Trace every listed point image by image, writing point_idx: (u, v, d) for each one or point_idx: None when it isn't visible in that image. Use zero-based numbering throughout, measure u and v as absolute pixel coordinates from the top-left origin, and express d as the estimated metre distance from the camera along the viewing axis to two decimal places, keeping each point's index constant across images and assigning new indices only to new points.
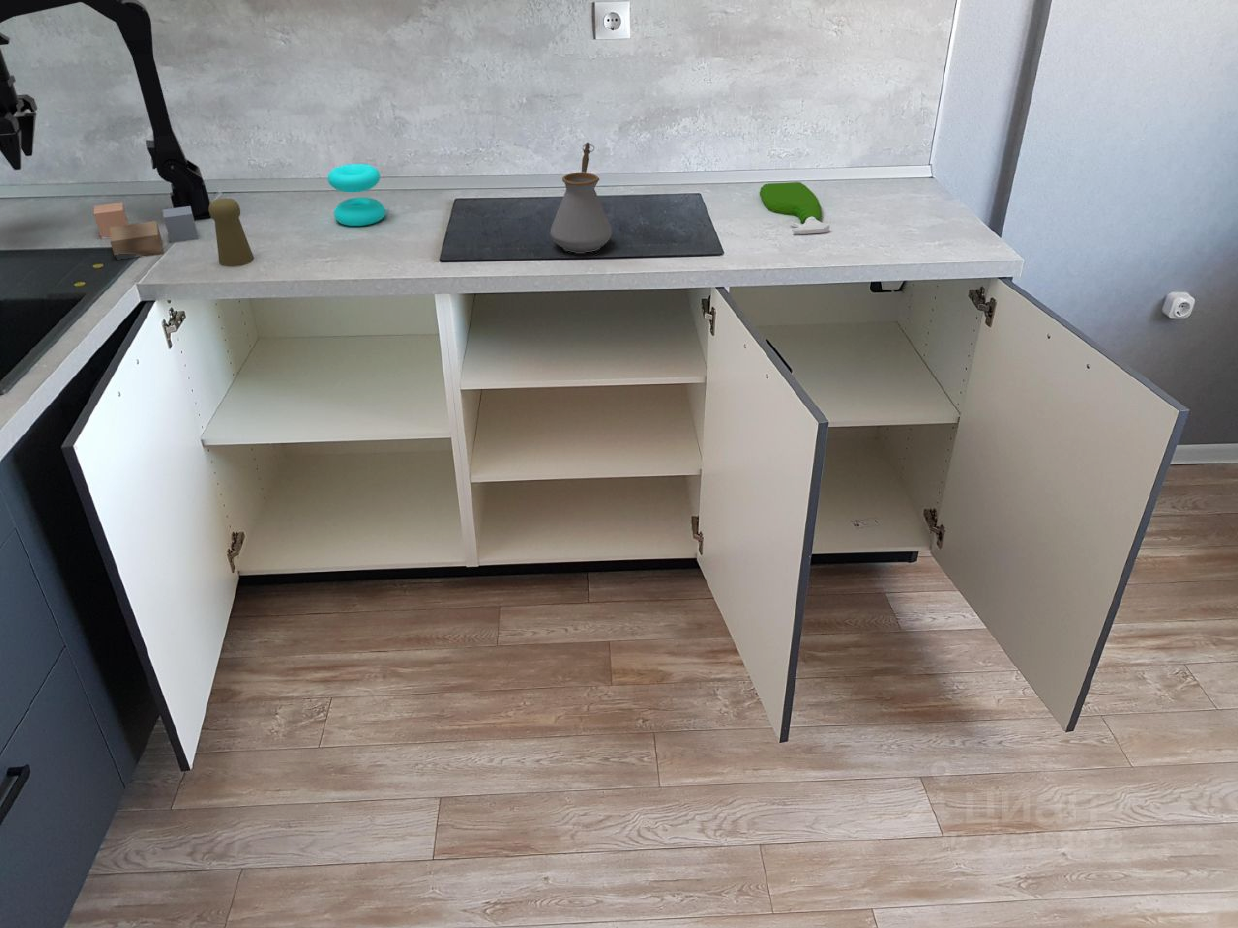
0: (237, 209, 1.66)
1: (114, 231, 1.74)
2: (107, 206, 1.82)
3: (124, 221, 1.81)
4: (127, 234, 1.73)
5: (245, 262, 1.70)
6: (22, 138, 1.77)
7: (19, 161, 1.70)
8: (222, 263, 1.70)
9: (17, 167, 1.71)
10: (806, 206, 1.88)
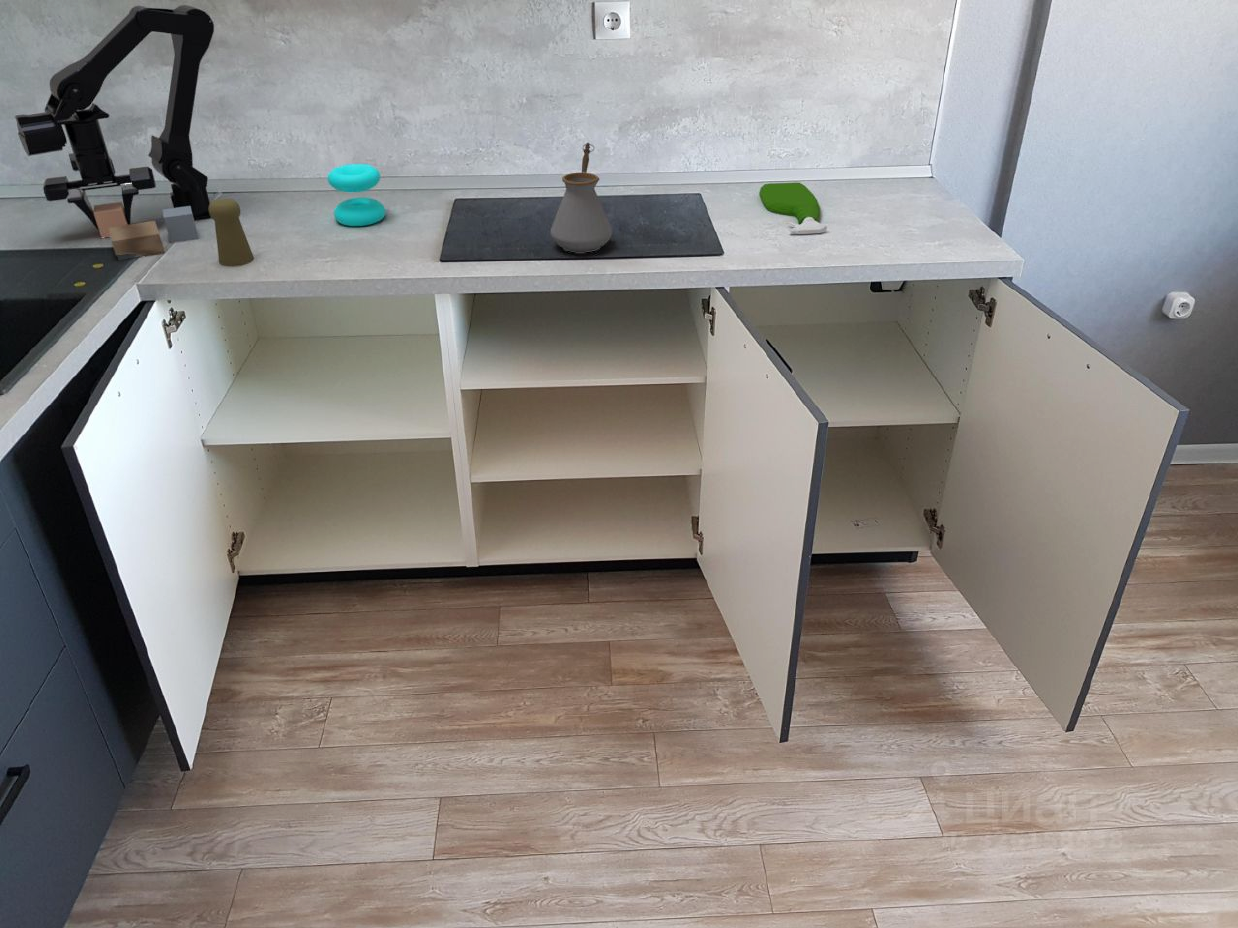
0: (237, 209, 1.66)
1: (114, 231, 1.74)
2: (107, 205, 1.82)
3: (124, 220, 1.81)
4: (127, 234, 1.72)
5: (245, 262, 1.70)
6: None
7: (93, 223, 1.81)
8: (222, 263, 1.70)
9: (96, 227, 1.82)
10: (804, 207, 1.88)
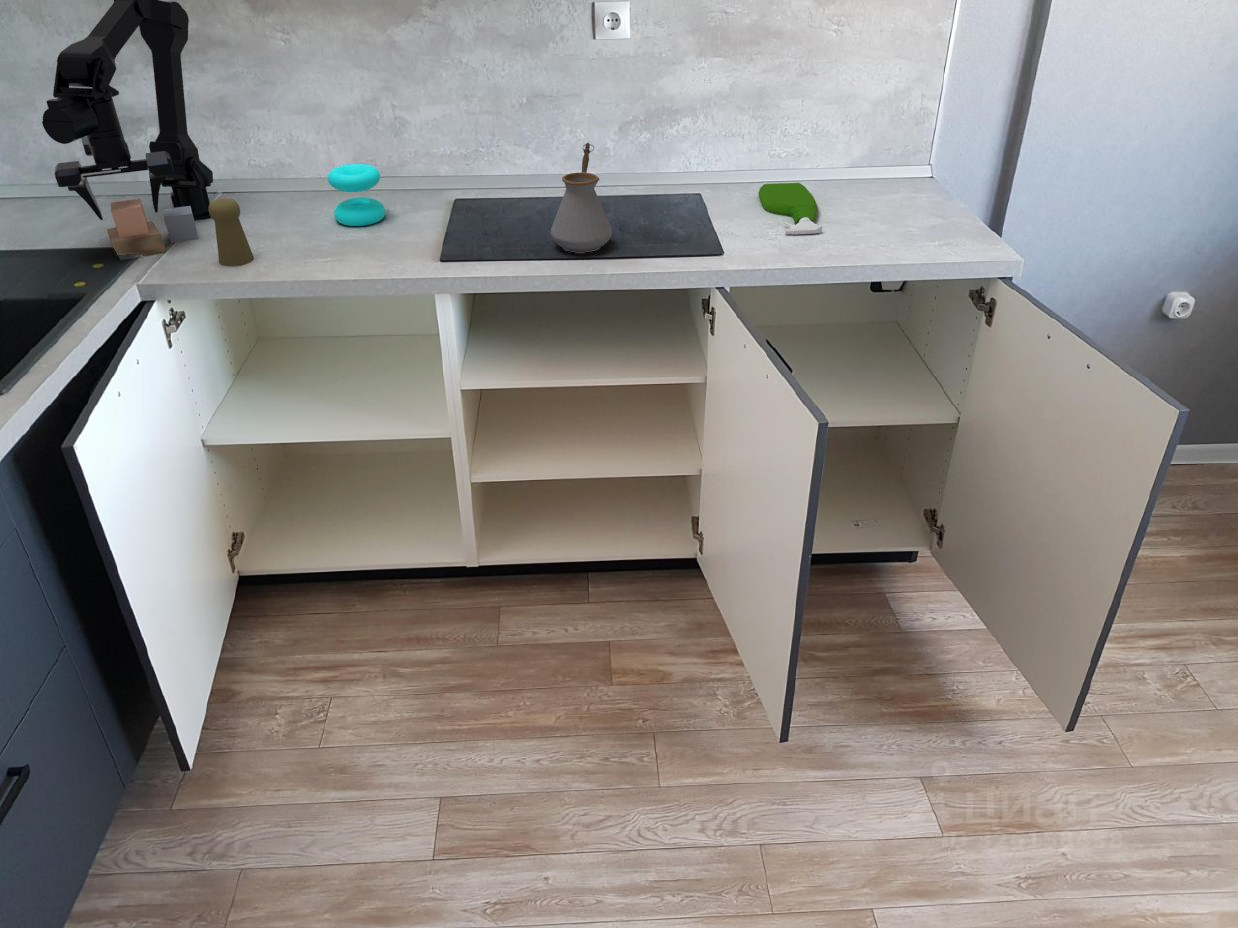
0: (237, 209, 1.66)
1: (113, 232, 1.74)
2: (125, 203, 1.72)
3: (143, 218, 1.71)
4: None
5: (245, 262, 1.70)
6: None
7: (95, 213, 1.69)
8: (222, 263, 1.70)
9: None
10: (801, 207, 1.87)
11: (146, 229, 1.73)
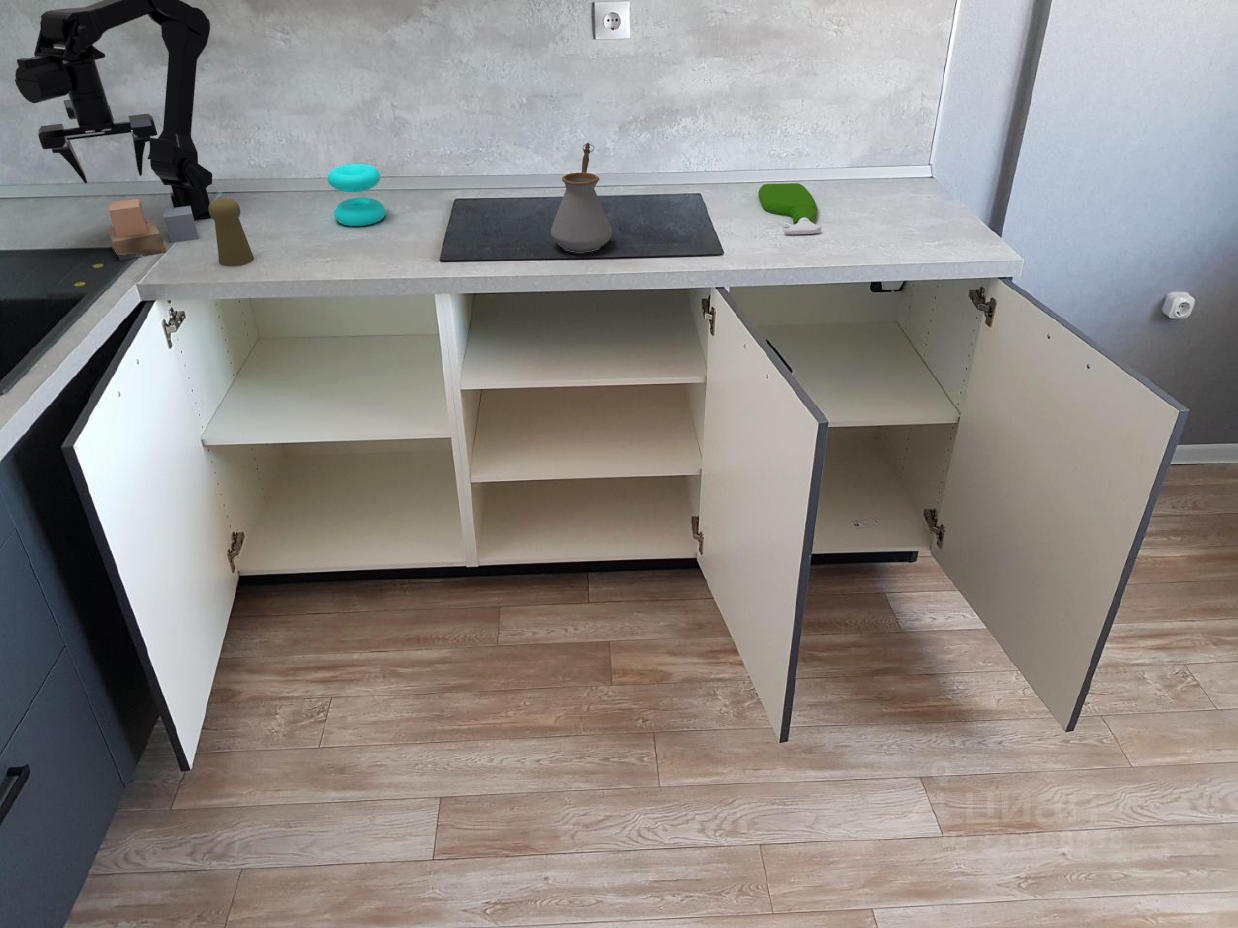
0: (237, 209, 1.66)
1: (112, 232, 1.74)
2: (123, 202, 1.72)
3: (141, 218, 1.71)
4: None
5: (245, 262, 1.70)
6: None
7: None
8: (222, 263, 1.70)
9: (83, 180, 1.71)
10: (801, 207, 1.87)
11: (144, 229, 1.72)
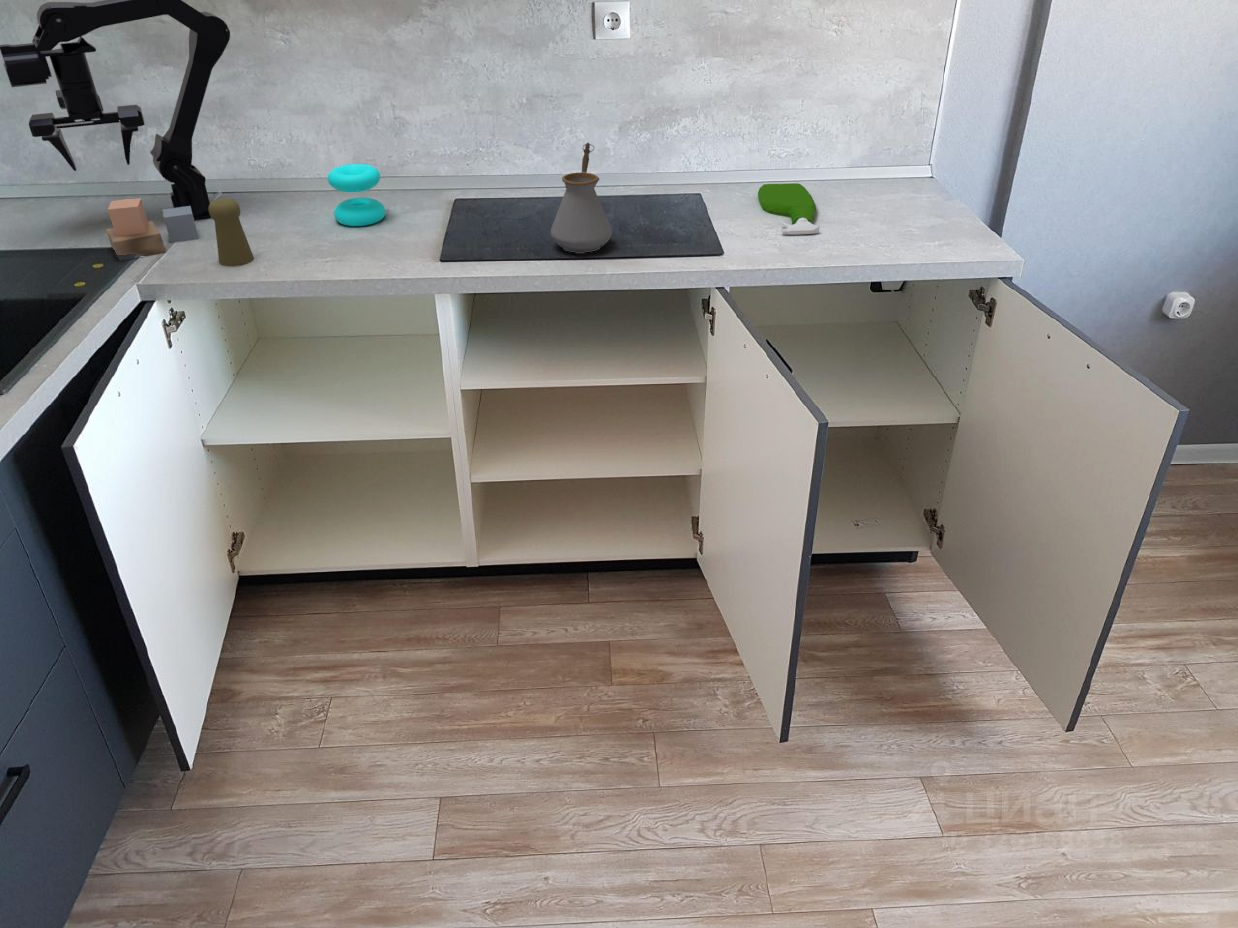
0: (237, 209, 1.66)
1: (112, 232, 1.74)
2: (124, 202, 1.72)
3: (139, 218, 1.71)
4: (128, 235, 1.72)
5: (245, 262, 1.70)
6: None
7: (68, 163, 1.76)
8: (222, 263, 1.70)
9: None
10: (800, 208, 1.87)
11: (143, 229, 1.73)
